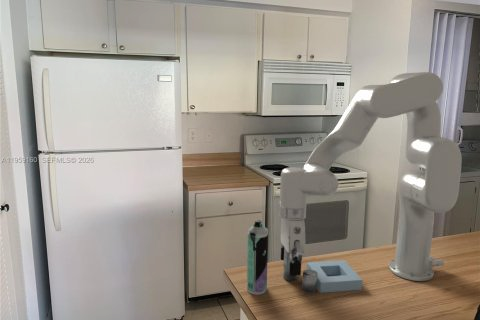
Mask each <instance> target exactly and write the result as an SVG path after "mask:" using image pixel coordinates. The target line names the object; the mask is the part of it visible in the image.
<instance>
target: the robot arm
mask: <svg viewBox="0 0 480 320" xmlns="http://www.w3.org/2000/svg"><path fill="white" fill-rule="evenodd" d="M389 81H390V82H389V83H387V84H386V83H385V84H370V85H366V86H362V87H361V88H360V89H359V90H358V91H357V92H356V93H355V95H354V96H353V98H352V100H350V102H349V105H348V106H347V107H346V109H345V111H344V113H343V114H342V116H341V117H340V119H339V121H338V122H337V123H336V125H335V126H334V128H333V130H332V131H331V132H330V133H329V134H328V135H327V136H326V137H325V138H324V139H323V140H322V141H321V142H320V143H319V144H318V145H316V147H315V148H314V149H313V151H312V152H311V154H310V156H309V157H308V159H307V161H306V162H305V164H304V165H303V167H302V168H301V167H294V166H292V167H286V168H283V169H282V170H281V173H280V188H279V209H278V210H279V211H278V212H279V213H278V215H279V217H280V218H281V219H280V221H281V222H280V242H281V243H280V260H281V261H284V247H285V249H286V251H287V252H288V253H289V254H290V257H291V262H290V268H289V275H290V276H297V277H298V276H301V274H302V263H303V261H302V260H303V254H304V253H305V252H306V225H305V224H306V223H305V219H306V218H307V200H308V196H312V197H313V196H314V197H322V198H323V197H324V198H325V197H329V196H331V195H333V194H335V193H336V192H337V190H338V188H339V180H338V177H337V176H336V175H335V174H334V173H333V172H332V171H331V170H330V169H331V167H333V165H334V163H335V162H336V161H337V160H338V159H339V158H340V157H341V156H342V155H344V154H345V153H348V152H350V151H352V150H354V149H355V150H356V148H359V147H361V145H362V144H363V142H364V141H365V140H366V138H367V136H368V134H369V133H370V131H371V130H372V128H373V127H374V125H375V123H376V122H377V120H378V119H389V118H394V117H398V116H401V115H404V114H405V115H406V120H407V128H406V141H405V142H406V143H405V157H406V159H407V161H408V162H409V163H410V164H412V165H413V166H416V167H418V168H421V169H412V170H408V171H407V172H405V173H404V174H403V175H401V177H400V179H399V182H398V197H399V200H398V201H399V214H398V224H397V232H396V233H397V234H396V243H395V245H396V246H395V251H394V252H395V253H394V259H392V260H390V261H389V262H388V269H389V271H390V272H391V273H393V274H395V276H397V277H399V278H403V279H406V280H408V281H409V280H410V281H413V282H414V281H415V282H425V281H430V280H432V279H433V278H434V274H435V273H434V269H433V268H435V267H442V266H444V263H445V262H444V260H443V259H441V258H440V259H434V257H433V256H431V250H432V242H433V234H434V226H435V225H434V224H435V213H437V214H442V213H447V212H448V211H450V210H452V209H453V208H454V207H455V204H456V203H457V202H458V201H457V200H458V198H459V194H460V193H459V192H460V186H461V185H460V184H461V183H460V182H461V173H462V161H463V159H462V158H463V156H462V152H461V149H460V147H459V146H458V144H457V143H456V142H455V141H453V139H449V138H447V137H443V136H441V126H442V125H441V124H442V123H441V118H442V117H441V109H440V107H439V105H438V102H437V101H438V100H440V98H441V96H442V94H443V91H444V84H443V81H442V79H441V78H440V76H439V75H438V74H435V73H433V72H430V71H427V72H426V71H424V72H423V71H421V72H405V73H400V74H397V75H395V76H394V77H392V79H391V80H389ZM422 169H425V170H422ZM292 250H296V251H292ZM293 254H296V256H295V257H294V258H293Z"/></svg>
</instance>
